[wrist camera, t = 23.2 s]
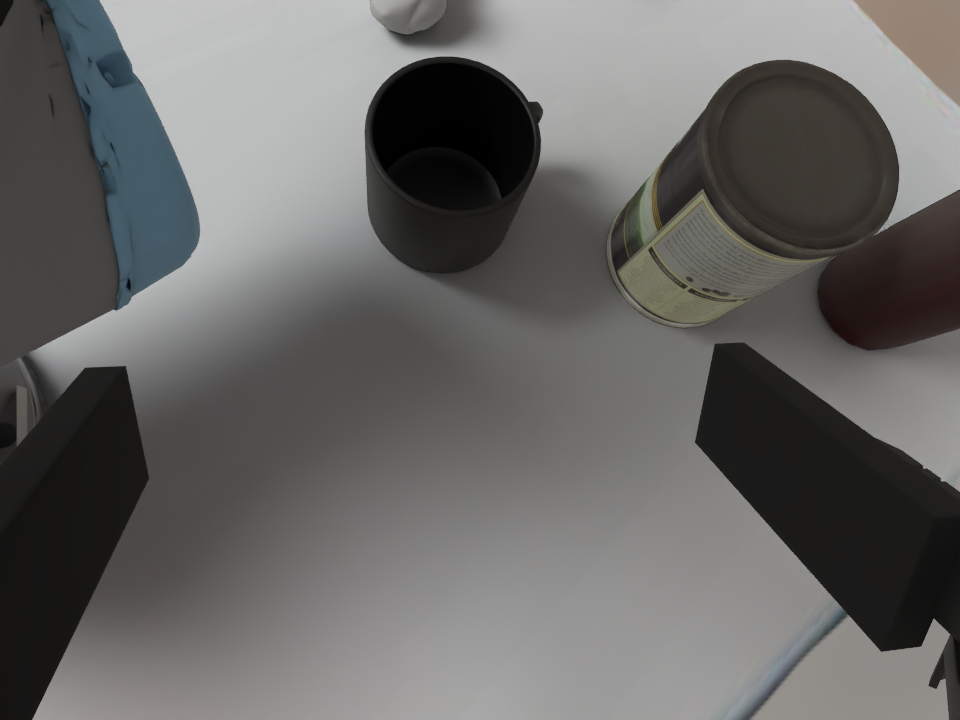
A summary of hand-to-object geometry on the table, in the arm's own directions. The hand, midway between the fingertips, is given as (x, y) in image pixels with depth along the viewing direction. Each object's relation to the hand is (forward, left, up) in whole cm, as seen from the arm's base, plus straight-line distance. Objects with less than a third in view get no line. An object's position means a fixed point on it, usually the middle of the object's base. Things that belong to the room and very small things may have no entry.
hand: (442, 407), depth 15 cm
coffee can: (+4, +23, -26) cm, 35 cm away
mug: (-10, +15, -26) cm, 31 cm away
